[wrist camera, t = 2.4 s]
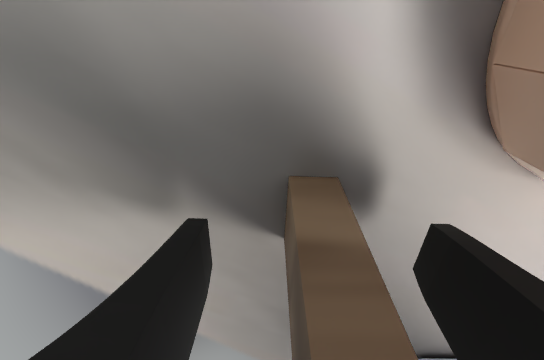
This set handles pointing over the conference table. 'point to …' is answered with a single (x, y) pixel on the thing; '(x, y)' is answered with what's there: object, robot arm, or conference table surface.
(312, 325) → the long tan beam
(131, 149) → the conference table surface
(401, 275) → the conference table surface
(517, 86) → the round tan tray
